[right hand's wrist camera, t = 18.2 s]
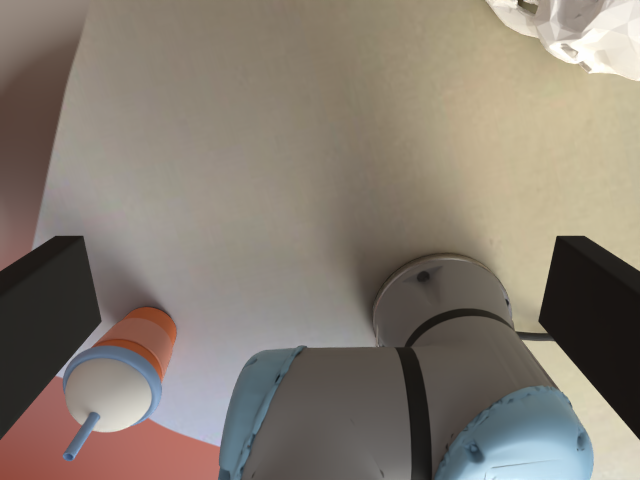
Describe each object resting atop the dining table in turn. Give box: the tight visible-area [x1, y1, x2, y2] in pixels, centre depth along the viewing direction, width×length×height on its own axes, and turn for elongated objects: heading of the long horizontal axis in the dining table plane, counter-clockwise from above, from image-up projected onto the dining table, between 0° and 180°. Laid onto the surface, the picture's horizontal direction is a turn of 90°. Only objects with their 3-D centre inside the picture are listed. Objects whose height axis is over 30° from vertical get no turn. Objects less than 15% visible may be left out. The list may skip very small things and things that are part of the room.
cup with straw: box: [63, 307, 176, 461], centre depth 43 cm, size 9×9×18 cm
